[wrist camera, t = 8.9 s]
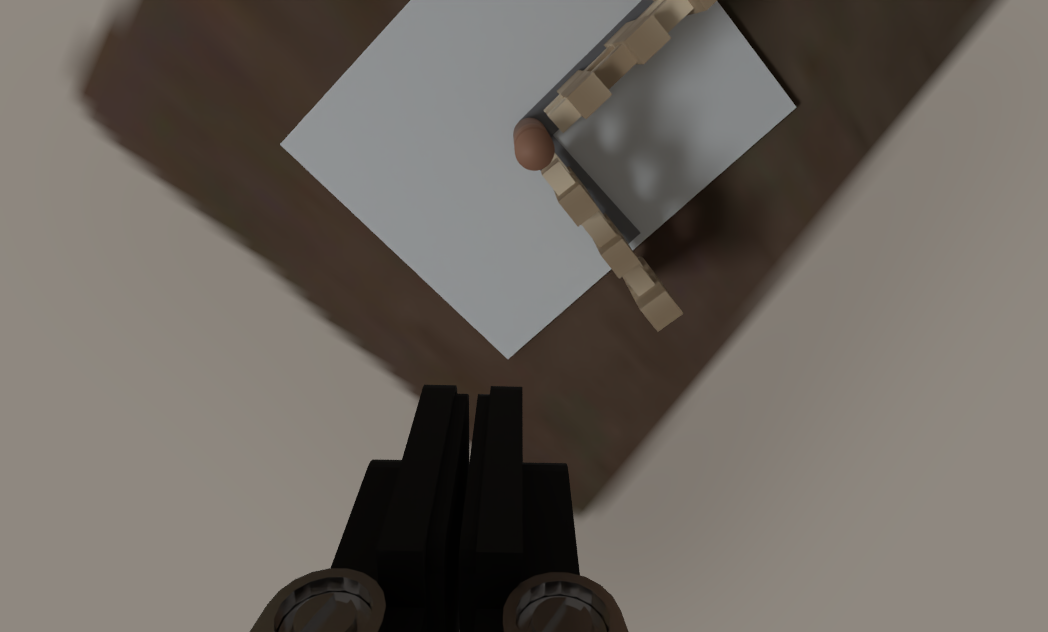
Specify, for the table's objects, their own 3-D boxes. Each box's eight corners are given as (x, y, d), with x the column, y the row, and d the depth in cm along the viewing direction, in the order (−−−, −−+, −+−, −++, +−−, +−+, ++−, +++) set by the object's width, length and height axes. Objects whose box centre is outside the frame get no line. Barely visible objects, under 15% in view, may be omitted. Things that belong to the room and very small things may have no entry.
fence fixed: (670, -26, 26) (713, -49, 21) (689, -2, 26) (736, -18, 21) (538, 104, 28) (546, 114, 22) (557, 125, 28) (569, 140, 23)
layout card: (577, -183, 24) (578, -186, 24) (793, 106, 28) (797, 107, 28) (282, 143, 28) (279, 144, 28) (507, 356, 32) (507, 360, 32)
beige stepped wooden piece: (506, 132, 28) (506, 147, 23) (532, 110, 27) (537, 120, 22) (631, 289, 30) (655, 333, 25) (656, 271, 30) (685, 312, 25)
